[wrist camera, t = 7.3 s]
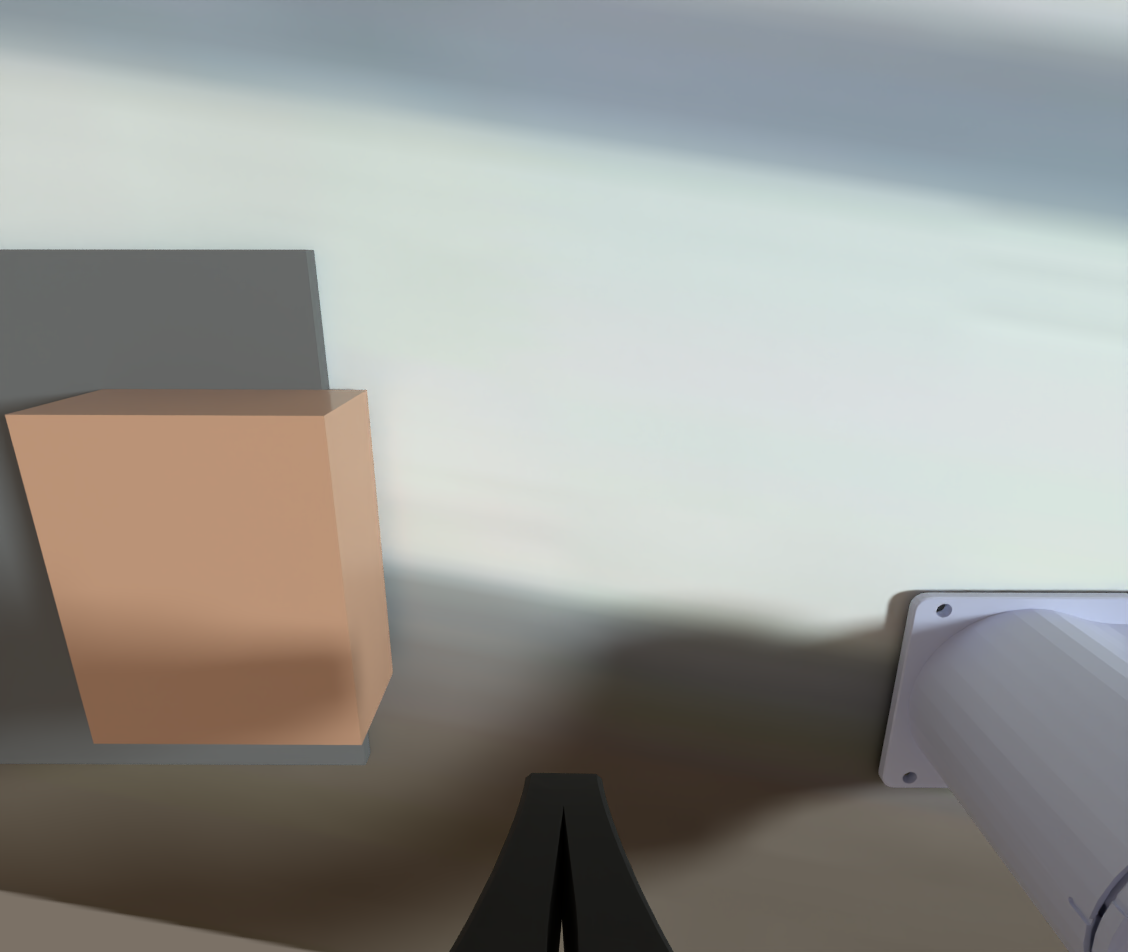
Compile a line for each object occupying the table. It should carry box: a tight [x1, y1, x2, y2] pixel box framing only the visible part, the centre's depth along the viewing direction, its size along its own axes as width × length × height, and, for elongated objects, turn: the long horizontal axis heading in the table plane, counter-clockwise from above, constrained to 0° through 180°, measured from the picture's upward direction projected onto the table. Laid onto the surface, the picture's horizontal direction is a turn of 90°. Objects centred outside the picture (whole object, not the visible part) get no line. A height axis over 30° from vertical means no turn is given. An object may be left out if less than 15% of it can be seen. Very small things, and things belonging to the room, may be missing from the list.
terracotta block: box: [5, 389, 393, 745], centre depth 19 cm, size 4×10×8 cm
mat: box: [0, 250, 370, 765], centre depth 21 cm, size 16×18×2 cm
